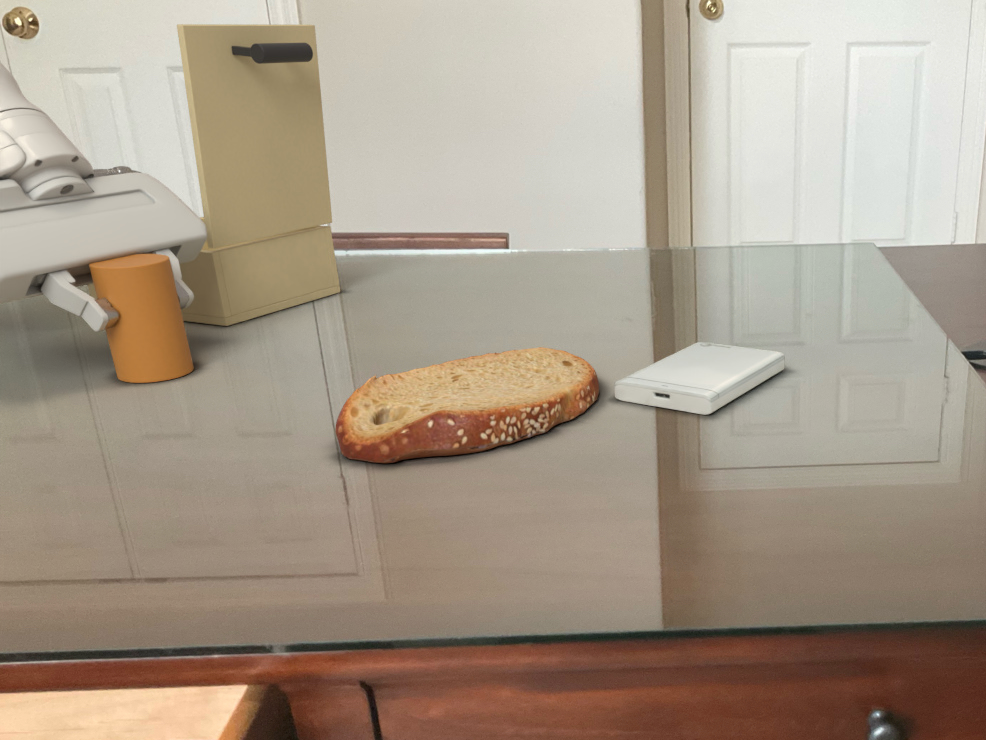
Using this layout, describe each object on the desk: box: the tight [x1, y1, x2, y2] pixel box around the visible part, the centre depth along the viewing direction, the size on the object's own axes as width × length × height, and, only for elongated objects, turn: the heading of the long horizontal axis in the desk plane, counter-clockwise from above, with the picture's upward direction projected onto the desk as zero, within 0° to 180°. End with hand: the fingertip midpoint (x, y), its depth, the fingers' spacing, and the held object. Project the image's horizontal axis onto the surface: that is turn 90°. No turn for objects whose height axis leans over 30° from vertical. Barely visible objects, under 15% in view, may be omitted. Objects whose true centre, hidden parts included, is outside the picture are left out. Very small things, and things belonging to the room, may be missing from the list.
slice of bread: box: [334, 346, 600, 464], centre depth 76 cm, size 18×18×4 cm
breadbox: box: [87, 216, 341, 327], centre depth 109 cm, size 18×16×7 cm
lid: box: [176, 23, 333, 248], centre depth 100 cm, size 18×16×4 cm
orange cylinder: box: [89, 254, 195, 384], centre depth 86 cm, size 6×6×9 cm
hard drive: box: [613, 341, 786, 416], centre depth 83 cm, size 2×8×12 cm
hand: (148, 314), depth 85 cm, fingers open, 6 cm apart
